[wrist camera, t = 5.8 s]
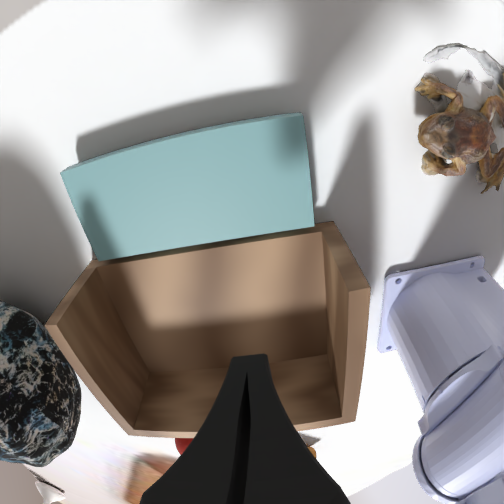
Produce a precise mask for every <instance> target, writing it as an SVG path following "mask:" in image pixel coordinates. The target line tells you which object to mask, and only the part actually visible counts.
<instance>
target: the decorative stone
mask: <svg viewBox="0 0 504 504" xmlns="http://www.w3.org/2000/svg"><path fill="white" fill-rule="evenodd" d="M80 414H81V388H80V384H79V382H78V379H77V377H76V374H75V371H74V369H73V368H72V366H71V365H70V363H69V362H68V361H67V359H66V358H65V356H64V355H63V353H62V352H61V350H60V349H59V347H58V346H57V344H56V343H55V341H54V340H53V338H52V337H51V335H50V334H49V332H48V330H47V329H46V328H45V327H44V326H43V325H42V324H41V322H40V321H39V320H38V319H37V318H36V317H34V316H33V315H32V314H30V313H28V312H26V311H24V310H22V309H19V308H17V307H14V306H12V305H9V304H7V303H5V302H3V301H1V300H0V460H2V461H7V462H12V463H25V464H28V465H32V466H35V467H44V466H46V465H48V464H49V463H50V462H51V461H52V460H53V459H55V458H56V457H57V456H59V455H60V454H62V453H63V452H65V451H66V450H67V449H68V448H69V447H70V446H71V445H72V443H73V440H74V438H75V435H76V431H77V427H78V424H79V420H80Z"/></svg>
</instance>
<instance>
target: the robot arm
mask: <svg viewBox="0 0 504 504" xmlns="http://www.w3.org/2000/svg"><path fill="white" fill-rule="evenodd" d="M471 263H472V264H471ZM484 263H485V259H484V257H482V256H476V257H471V258H467V259H462V260H458V261H453V262H448V263H444V264H439V265H434V266H429V267H424V268H419V269H414V270H409V271H404V272H399V273H394V274H390V275H388V276H387V277H386V278H385V281H384V292H383V303H382V313H381V322H380V330H379V338H378V345H377V349H378V351H379V352H380V353H383V352H387V351H392V350H396V349H397V351H398V353H399V355H400V357H401V360H402V362H403V364H404V366H405V369H406V371H407V373H408V376H409V378H410V380H411V383H412V385H413V387H414V390H415V392H416V395H417V397H418V400H419V402H420V405H421V407H422V410H423V412H424V415H423V417H422V418H421V419H420V420H419V421H418V425H419V427H420V430H421V433H422V435H421V436H420V437H419V439H418V440H417V442H416V444H415V446H414V449H413V456H412V457H413V468H414V472H415V475H416V478H417V480H418V482H419V484H420V486H421V487H422V489H423V490H424V491H425V492H426V493H427V494H428V495H429V496H430V497H431V498H433V499H435V500H436V501H438V502H441V503H444V504H504V289H503V288H502V287H501V286H500V285H499V284H498V283H497V282H496V281H495V280H494V279H493V278H492V277H491V275H490V274H489V273H488V272H487V271H486V270H485V269H484ZM470 264H471V265H470ZM398 278H399V280H398V281H396V280H397V279H398ZM140 504H350V502H349V500H348V498H347V497H346V495H345V494H344V492H343V491H342V489H341V487H340V486H339V485H338V484H337V483H336V482H335V481H334V480H333V479H332V477H331V476H330V475H329V474H328V473H327V472H326V471H325V469H324V468H323V467H322V466H321V465H320V463H319V462H318V461H317V460H316V458H315V457H314V456H313V454H312V453H311V451H310V450H309V449H308V447H307V446H306V445H305V443H304V442H303V440H302V439H301V437H300V435H299V434H298V432H297V431H296V429H295V427H294V426H293V424H292V422H291V420H290V419H289V417H288V415H287V413H286V411H285V409H284V407H283V405H282V403H281V401H280V398H279V396H278V394H277V391H276V389H275V386H274V384H273V380H272V375H271V370H270V366H269V361H268V356H267V355H266V354H264V353H263V354H254V355H246V356H236V357H233V358H232V359H231V361H230V365H229V368H228V371H227V374H226V376H225V379H224V382H223V384H222V387H221V389H220V391H219V393H218V396H217V398H216V400H215V402H214V404H213V406H212V408H211V410H210V412H209V414H208V415H207V417H206V419H205V421H204V423H203V424H202V426H201V428H200V429H199V431H198V432H197V434H196V435H195V437H194V438H193V440H192V441H191V443H190V444H189V445H188V447H187V448H186V449H185V451H184V452H183V453H182V455H181V456H180V457H179V458H178V459H177V461H176V462H175V463H174V464H173V465H172V466H171V467H170V468H169V469H168V470H167V471H166V473H165V474H164V475H163V476H162V477H161V478H160V479H159V480H157V481H156V482H155V483H154V484H153V485H152V486H151V487H150V488H149V489H147V490H146V491H145V492H144V493H143V495H142V498H141V501H140Z"/></svg>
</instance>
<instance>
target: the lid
mask: <svg viewBox="0 0 504 504" xmlns="http://www.w3.org/2000/svg"><path fill="white" fill-rule="evenodd" d="M60 174H61V176H62V179H63V182H64V184H65V187H66V189H67V192H68V194H69V197H70V199H71V202H72V204H73V206H74V209H75V211H76V213H77V216H78V218H79V220H80V223H81V225H82V227H83V229H84V232H85V234H86V236H87V238H88V240H89V242H90V244H91V247H92V249H93V251H94V253H95V255H96V257H97V259H98V261H104V260H109V259H115V258H121V257H127V256H133V255H138V254H144V253H150V252H156V251H162V250H168V249H174V248H180V247H186V246H192V245H198V244H205V243H211V242H217V241H223V240H230V239H236V238H242V237H249V236H255V235H261V234H268V233H274V232H281V231H287V230H294V229H301V228H307V227H314V213H313V201H312V190H311V179H310V169H309V160H308V151H307V142H306V134H305V126H304V118H303V115H302V114H301V113H300V112H297V113H289V114H281V115H274V116H267V117H261V118H254V119H248V120H242V121H237V122H231V123H226V124H221V125H216V126H211V127H206V128H201V129H197V130H192V131H188V132H183V133H179V134H175V135H171V136H167V137H163V138H159V139H155V140H152V141H148V142H144V143H141V144H137V145H134V146H130V147H127V148H123V149H120V150H117V151H114V152H111V153H107V154H104V155H101V156H98V157H95V158H92V159H89V160H86V161H83V162H81V163H78V164H75V165H72V166H69V167H67V168H66V169H65V170H63V171H62V172H61V173H60Z"/></svg>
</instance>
